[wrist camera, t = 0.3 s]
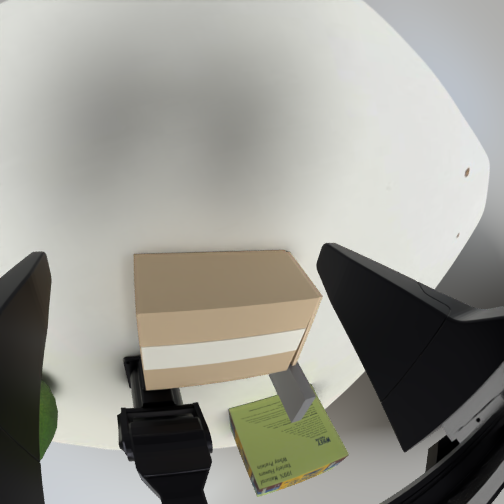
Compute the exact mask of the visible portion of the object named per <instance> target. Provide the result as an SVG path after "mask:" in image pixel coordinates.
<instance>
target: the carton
mask: <svg viewBox="0 0 504 504" xmlns="http://www.w3.org/2000/svg"><path fill="white" fill-rule="evenodd" d="M134 285H135V304H136V318H137V327H138V336H139V345H140V352H141V360H142V366H143V373H144V379H145V385H146V390H158V389H169V388H179V387H188V386H197V385H204V384H212V383H219V382H226V381H232V380H238V379H244V378H250V377H255V376H261V375H266V374H271V373H276V372H281V371H285V370H287V369H288V367H289V365H290V362H291V360H292V358H293V356H294V354H295V352H296V350H297V347H298V345H299V343H300V341H301V339H302V336H303V334H304V332H305V330H306V327H307V325H308V323H309V321H310V318H311V316H312V314H313V311H314V309H315V307H316V304H317V302H318V299H319V297H318V296H317V294H316V293H315V291H314V290H313V289H312V287H311V286H310V284H309V283H308V282H307V280H306V279H305V277H304V276H303V275H302V273H301V272H300V271H299V269H298V268H297V266H296V265H295V264H294V262H293V261H292V260H291V258H290V257H289V256H288V254H287V253H286V251H285V250H266V251H230V252H194V253H158V254H134Z"/></svg>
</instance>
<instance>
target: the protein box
mask: <svg viewBox="0 0 504 504" xmlns="http://www.w3.org/2000/svg"><path fill="white" fill-rule="evenodd" d="M310 386H311V388H312V389H313V387H312V385H311V384H310ZM313 391H314V389H313ZM314 393H315V391H314ZM315 395H316V393H315ZM229 415H230V425H231V431H232V433H233V436H234V439H235V442H236V444H237V447H238V449H239V452H240V455H241V457H242V460H243V462H244V465H245V467H246V470H247V472H248V475H249V477H250V480H251V482H252V485H253V487H254V490H255V492H256V495H257V497H259V496H262V495H266V494H268V493H271V492H274V491H277V490H280V489H283V488H286V487H289V486H292V485H295V484H297V483H300V482H302V481H305V480H307V479H310V478H312V477H315V476H317V475H319V474H322V473H324V472H326V471H328V470H331V469H332V468H334V467H335V466H336V465H337V464H339V463H340V462H341V461H342V460H344V459H345V458H346V457H347V456H348V455H349V454H348V452H347V450H346V448H345V446H344V445H343V442H342V441H341V439H340V437H339V435H338V434H337V432H336V430H335V428H334V426H333V425H332V423H331V421H330V419H329V417H328V415H327V413H326V411H325V410H324V408H323V406H322V404H321V402H320V400H319V398H318V397H317V395H316V398H315V399H314V401H313V402H312V404H311V406H310V407H309V409H308V410H307V412H306V413H305V415H304V416H303V418H302V419H301V420H299V421H296V422H293V423H291V421H290V419H289V417H288V415H287V413H286V411H285V408H284V406H283V404H282V402H281V400H280V398H279V396H278V395H276V396H273V397H270V398H266V399H263V400H259V401H256V402H253V403H249V404H245V405H242V406H238V407H234V408H230V409H229Z"/></svg>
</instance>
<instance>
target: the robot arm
mask: <svg viewBox="0 0 504 504" xmlns="http://www.w3.org/2000/svg"><path fill="white" fill-rule="evenodd" d="M316 266H317V271H318V273H319V275H320V278H321V280H322V283H323V285H324V287H325V290H326V292H327V295H328V297H329V300H330V302H331V304H332V306H333V308H334V310H335V312H336V314H337V316H338V318H339V320H340V321H341V323H342V325H343V327H344V329H345V331H346V333H347V335H348V337H349V339H350V341H351V343H352V345H353V347H354V349H355V351H356V353H357V355H358V357H359V359H360V361H361V363H362V365H363V367H364V369H365V371H366V373H367V375H368V377H369V378H370V381H371V383H372V385H373V387H374V389H375V391H376V393H377V395H378V397H379V399H380V402H381V404H382V406H383V408H384V410H385V412H386V415H387V417H388V419H389V421H390V423H391V425H392V428H393V430H394V432H395V434H396V436H397V439H398V441H399V443H400V445H401V448H402V450H403V451H404V452H407V451H408V450H410V449H411V448H413V447H414V446H416V445H417V444H419V443H420V442H422V441H423V440H425V439H426V438H427V437H429V436H430V435H431V434H433V433H434V432H436V431H437V430H438V429H439V428H441V427H442V428H443V430H444V431H445V433H446V434H447V435H446V436H444V437H443V438H442V439H441V440H439V441H438V442H437V443H436V444H434V445H433V446H432V447H430V448H429V449H428V456H427V464H426V471H425V473H424V474H423V475H422V476H420V477H419V478H417V479H416V480H415V481H413V482H412V483H411V484H409V485H408V486H406V487H405V488H404V489H402V490H400V491H399V492H397V493H396V494H394V495H393V496H392V497H390V498H388V499H387V500H385V501H383V502H382V503H380V504H491V503H492V502H493V501H494V500H495V498H496V497H497V496H498V494H499V493H500V492H501V490H502V489H503V488H504V306H503V307H497V308H492V309H478V308H474V307H471V306H469V305H467V304H465V303H463V302H461V301H458V300H456V299H454V298H452V297H449V296H447V295H445V294H443V293H441V292H438V291H436V290H434V289H432V288H430V287H428V286H426V285H424V284H422V283H420V282H417V281H416V280H414V279H411V278H409V277H407V276H405V275H403V274H401V273H399V272H397V271H395V270H393V269H391V268H388V267H386V266H384V265H382V264H380V263H378V262H376V261H373V260H371V259H369V258H367V257H365V256H363V255H360V254H358V253H356V252H354V251H352V250H349V249H347V248H345V247H343V246H341V245H338V244H336V243H325V244H324V245H323V246H322V249H321V251H320V254H319V257H318V260H317V265H316ZM50 291H51V273H50V269H49V264H48V260H47V256H46V253H45V252H32V253H31V254H29V255H28V256H27V257H26V258H24V259H23V260H22V261H20V262H19V263H18V264H17V265H15V266H14V267H13V268H12V269H11V270H9V271H8V272H7V273H6V274H4V275H3V276H2V277H1V278H0V504H45V502H44V494H43V486H42V476H41V464H40V463H39V462H40V444H39V412H40V390H41V377H42V366H43V357H44V349H45V342H46V335H47V328H48V315H49V302H50ZM124 366H125V370H126V375H127V379H128V383H129V387H130V388H131V390H132V398H133V406H134V408H121V413H120V414H119V415H117V419H118V429H119V447H120V449H122V450H123V451H124V452H125V454H126V455H127V456H128V460H129V461H135V465H136V469H137V471H138V473H139V475H140V478H141V480H142V481H143V482H144V483H145V484H146V485H147V486H148V487H149V488H150V489H151V490H152V491H153V492H154V493H155V494H156V495H157V496H158V497H159V498H160V499H161V502H162V504H208V503H207V500H206V497H205V494H204V491H203V489H204V486H205V483H206V479H207V476H208V473H209V470H210V467H211V463H212V459H211V456H210V453H212V450H213V447H212V440H211V435H210V432H209V429H208V426H207V424H206V421H205V419H204V417H203V414H202V412H201V409H200V407H199V404H198V402H196V403H193V404H184V405H183V401H182V397H181V393H180V389H179V388H169V389H158V390H146V385H145V379H144V373H143V366H142V360H141V357H126V358H124Z"/></svg>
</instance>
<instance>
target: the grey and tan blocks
mask: <svg viewBox="0 0 504 504" xmlns="http://www.w3.org/2000/svg"><path fill="white" fill-rule="evenodd" d="M286 253H287V254H288V256H289V257H290V258H291V260H292V261H293V262H294V264H295V265H296V266H297V268H298V269H299V271H300V272H301V273H302V275H303V276H304V277H305V279H306V280H307V282H308V283H309V284H310V286H311V287H312V289H313V290H314V291H315V293H316V294H317V296H318V297H319V299H318V302H317V304H316V307H315V309H314V311H313V314H312V316H311V318H310V321H309V323H308V325H307V327H306V330H305V332H304V334H303V336H302V339H301V341H300V343H299V345H298V347H297V350H296V352H295V354H294V356H293V358H292V360H291V362H290V365H289V367H288V369H287V370H285V371H281V372H276V373H271V374H269V376H270V378H271V381H272V383H273V385H274V387H275V389H276V391H277V394H278V396H279V398H280V400H281V402H282V404H283V406H284V408H285V411H286V413H287V415H288V417H289V419H290V421H291V423H293V422H296V421H299V420H301V419H302V418H303V416H304V415H305V413H306V412H307V410H308V409H309V407H310V406H311V404H312V402H313V401H314V399H315V398H316V395H315V393H314V391H313V389H312V388H311V386H310V384H309V382H308V380H307V378H306V377H305V375H304V373H303V371H302V369H301V367H300V366H299V364H298V362H297V360H298V358H299V355H300V353H301V351H302V348H303V346H304V343H305V341H306V338H307V336H308V333H309V331H310V328H311V326H312V323H313V321H314V318H315V316H316V313H317V310H318V308H319V305H320V302H321V300H322V297H323V296H322V295H321V293H320V292H319V291H318V289H317V288H316V287H315V285H314V284H313V283H312V281H311V280H310V278H309V277H308V276H307V274H306V273H305V272H304V270H303V269H302V268H301V266H300V265H299V264H298V262H297V261H296V260H295V258H294V257H293V256H292V254H291V253H290V252H286Z"/></svg>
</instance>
